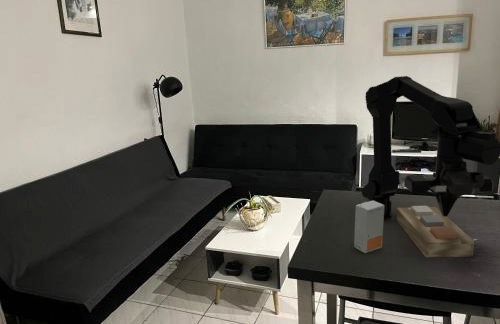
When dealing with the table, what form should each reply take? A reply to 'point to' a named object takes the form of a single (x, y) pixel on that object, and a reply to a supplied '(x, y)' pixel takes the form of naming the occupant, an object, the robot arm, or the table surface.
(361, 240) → the skincare box
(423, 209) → the offwhite key
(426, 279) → the table surface
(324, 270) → the table surface
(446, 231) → the terracotta key
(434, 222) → the grey key
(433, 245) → the wooden slotted tray
